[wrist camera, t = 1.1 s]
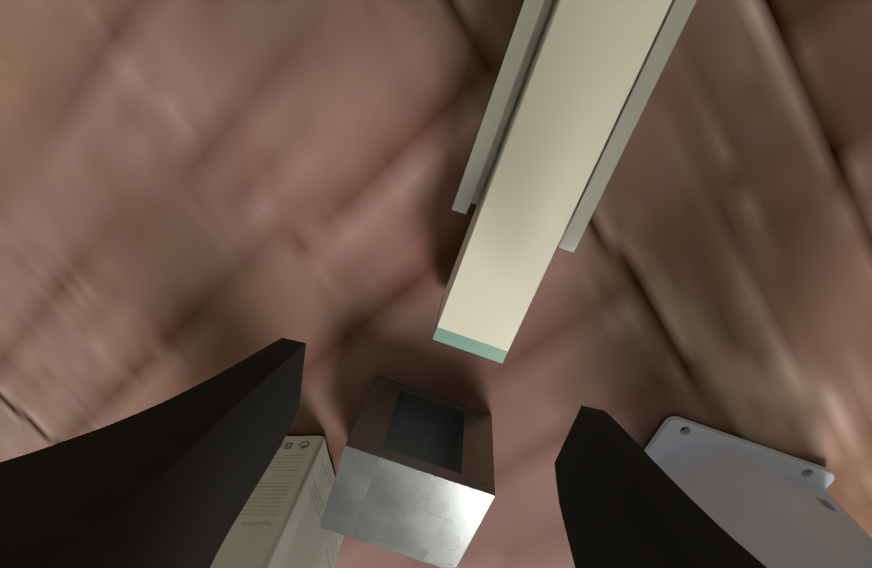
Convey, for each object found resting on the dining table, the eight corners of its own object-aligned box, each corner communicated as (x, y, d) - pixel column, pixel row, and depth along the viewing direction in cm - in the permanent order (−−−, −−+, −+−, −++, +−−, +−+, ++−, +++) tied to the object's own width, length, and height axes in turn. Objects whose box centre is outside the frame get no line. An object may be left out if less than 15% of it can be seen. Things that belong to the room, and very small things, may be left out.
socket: (491, 415, 23) (494, 495, 18) (459, 482, 25) (453, 571, 20) (374, 375, 23) (345, 445, 18) (352, 446, 25) (319, 526, 20)
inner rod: (667, -64, 14) (733, -132, 10) (498, 320, 20) (502, 363, 16) (587, -94, 14) (625, -174, 10) (441, 300, 20) (432, 339, 16)
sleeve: (671, -15, 15) (723, -55, 12) (557, 231, 19) (573, 252, 16) (545, -62, 15) (564, -115, 12) (456, 195, 19) (451, 209, 15)
